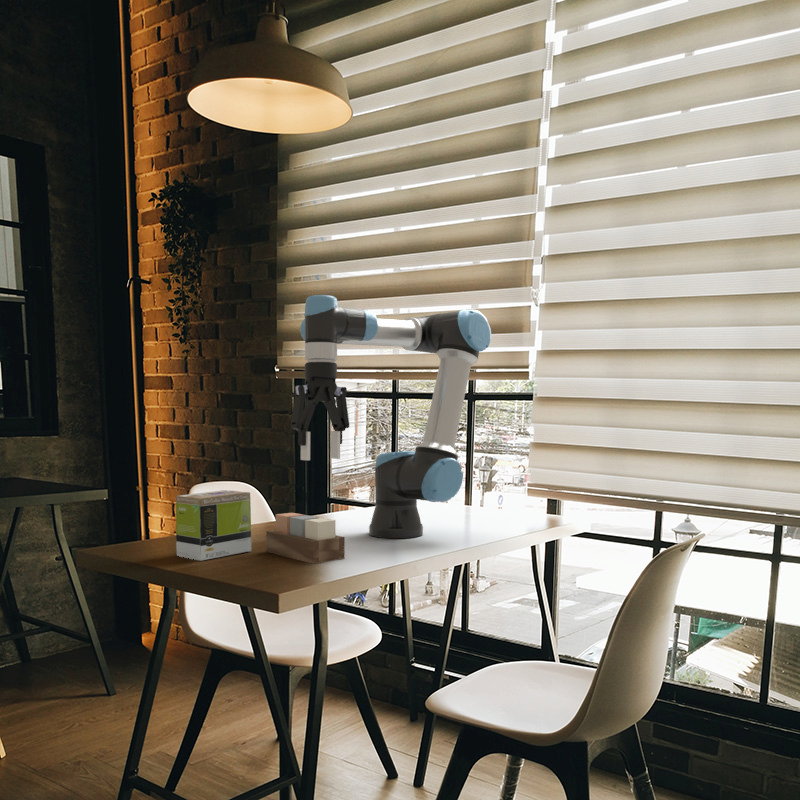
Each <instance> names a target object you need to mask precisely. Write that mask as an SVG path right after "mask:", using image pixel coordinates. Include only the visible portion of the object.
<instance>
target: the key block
mask: <svg viewBox="0 0 800 800" xmlns="http://www.w3.org/2000/svg"><path fill="white" fill-rule="evenodd" d="M265 532H266V535H265V536H266V538H265V539H266V541H265V542H266V548H265V549H266V550H265V551H266V553H270V554H273V555H277V556H282V557H286V558H289V559H293V560H297V561H301V562H306V563H308V564H313V565H314V564H320V563H325V562H331V561H332V562H333V561H337V560H342V559H343V560H344V559H345V556H346V555H345V553H346V552H345V547H346V546H345V545H346V544H345V536H341V535H336V534H335V538H331V539H324V540H313V539H309V538H305V537H300V536H295V535H290V533H288V534H286V533H281V532H277V531H275V529H273V530H267V531H265Z"/></svg>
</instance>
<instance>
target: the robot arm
mask: <svg viewBox="0 0 800 800" xmlns="http://www.w3.org/2000/svg"><path fill="white" fill-rule="evenodd" d="M490 326H491V325H490V324H489V321H488V319H487V317H486V316H485V315H484V314H483V313H482V312H481V311H479V310H477V309H461V310H457V311H450V312H443V313H435V314H431V315H424V316H418V317H412V316H410V317H409V316H408V317H405V318H404V319H393V318H379V317H378V318H377V316H376V314H375V313H374V312H372V311H369V310H365V309H363V308H362V309H357V308H351V307H350V308H348V307H341V306H339V304H338V299H337V297H335V296H333V295H331V294H330V295H329V294H315V295H314V294H312V295H310V296H308V297H306V300H305V305H304V318H303V320H302V321H301V324H300V327H299V331H300V336H301V338H302V339H303V341H304V360H305V361H307V362H305V364H304V378H305V383H304V384H303V385H295V386H294V387H293V392H294V393H293V394H294V401H293V406H292V412H291V413H292V414H291V420H290V428H291V429H293V430H295V432H297V433H298V434H297V435H298V436H297V437H298V439H297V441H298V446H300V461H311V431H308V429H309V426H310V424H311V420H312V418H313V415H314V412H315V410H316V407H317V405H318V404H319V402H322V403H323V405H324V406H325V408H326V411H327V414H328V417H329V421H330V423H331V426H332V429H333V430H332V431H331V430H330V459H332V460H333V459H336V460H339V459H340V460H341V445H342V444H343V432H344V431H346V429H349V428H350V419H349V413H348V412H349V411H348V405H347V391H348V390H347V389H348V388H347V387H346V386H338V384H337V382H336V379H337V377H338V364H337V363H336V361H337V360H338V345H352V346H353V345H354V346H355V345H356V346H357V345H358V346H377V347H380V346H381V347H397V348H399V347H402V349H404V350H406V351H411V352H422V353H429V354H436V355H437V357H438V358H439V360H440V362H439V366H438V371H437V375H436V379H435V385H434V388H433V389H434V390H433V392H432V398H431V404H430V407H429V412H428V417H427V421H426V426H425V431H424V435H423V439H422V440H423V441H422V442H421V443H420V444H418V445H417V446H415V450H404V451H394V452H393V451H392V452H391V451H390V452H384V453H379V454H378V455H377V456H376V459H375V467H374V475H375V476H374V477H375V478H374V480H375V481H374V482H375V487H374V488H375V489H374V490H375V494H374V495H375V497H374V498H375V507H374V510H373V514H372V518H371V521H370V524H369V526H368V533H369V536H371V537H375V538H383V539H384V538H385V539H410V538H416V537H420V536H422V535H424V533H423V532H424V525H423V524H422V522H421V517H420V514H419V510H418V507H417V506H418V503H417V502H418V501H419V500H421V501H428V502H431V503H438V502H439V503H443V502H445V503H446V502H448V501H450V500H451V499H453V498H454V497H455V496H456V495H457V494H458V492H459V491H460V489H461V488H462V487H461V486H462V485H463V484H462V483H463V479H464V472H463V470H462V465H461V463H460V462H459V461H458V459H459V455H458V453H457V452H456V450H455V446H456V445H455V444H456V441H457V434H458V430H459V426H460V421H461V415H462V410H463V406H464V401H465V396H466V393H467V392H466V391H467V386H468V382H469V381H468V380H469V377H470V373H471V372H470V371H471V367H472V366H473V365H475V364H476V363H477V362H478V361H479V355H480V352H483V351H485V350H486V349H487V348H488V347H489V346H490V344H491V340H492V331H491V330H492V329H491V327H490ZM306 394H307V396H306ZM417 500H418V501H417Z"/></svg>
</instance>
